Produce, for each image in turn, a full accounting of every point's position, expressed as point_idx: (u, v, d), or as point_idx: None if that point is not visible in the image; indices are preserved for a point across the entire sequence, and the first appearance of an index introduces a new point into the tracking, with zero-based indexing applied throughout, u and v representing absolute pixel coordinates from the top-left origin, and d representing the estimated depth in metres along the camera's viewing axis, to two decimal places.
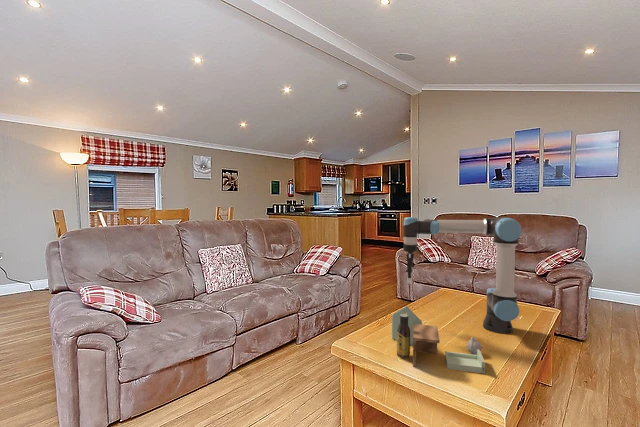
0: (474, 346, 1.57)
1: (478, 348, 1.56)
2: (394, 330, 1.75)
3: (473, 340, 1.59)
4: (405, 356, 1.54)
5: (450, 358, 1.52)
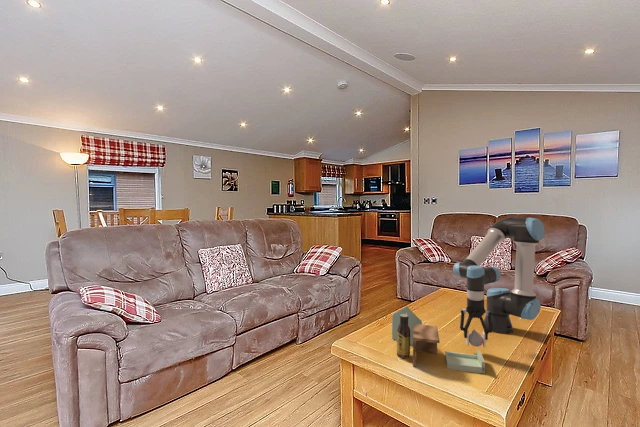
0: (476, 338, 1.57)
1: (479, 340, 1.57)
2: (394, 330, 1.75)
3: (474, 332, 1.59)
4: (405, 356, 1.54)
5: (450, 358, 1.52)
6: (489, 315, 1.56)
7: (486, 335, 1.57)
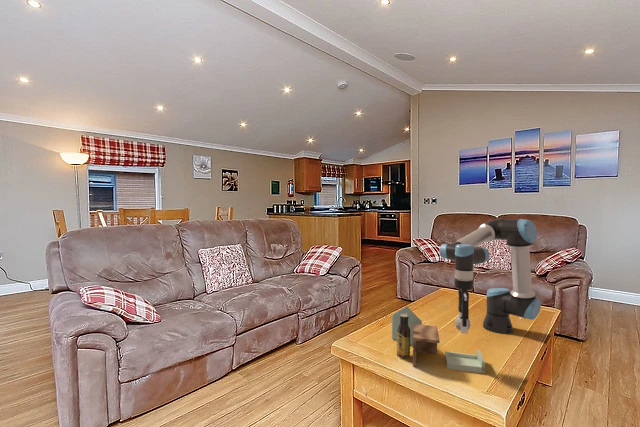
0: (469, 321, 1.47)
1: None
2: (394, 330, 1.75)
3: None
4: (405, 356, 1.54)
5: (450, 358, 1.52)
6: None
7: None
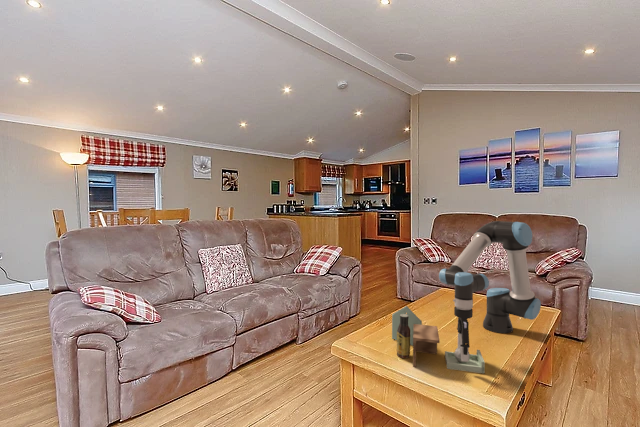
0: None
1: None
2: (394, 330, 1.75)
3: None
4: (405, 356, 1.54)
5: (450, 358, 1.52)
6: None
7: (462, 335, 1.56)
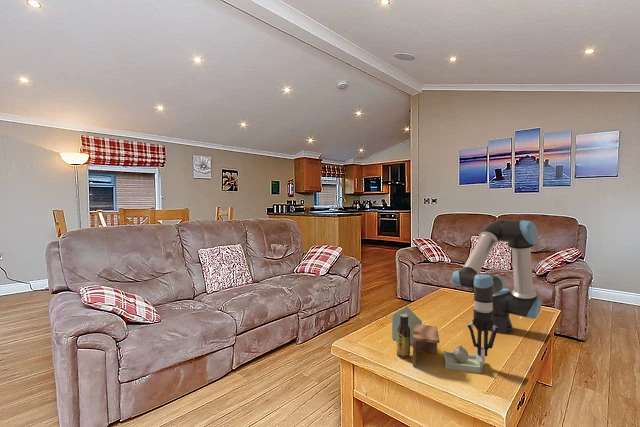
0: (467, 352, 1.48)
1: None
2: (394, 330, 1.75)
3: None
4: (405, 356, 1.54)
5: (448, 358, 1.53)
6: (496, 330, 1.43)
7: (486, 351, 1.45)
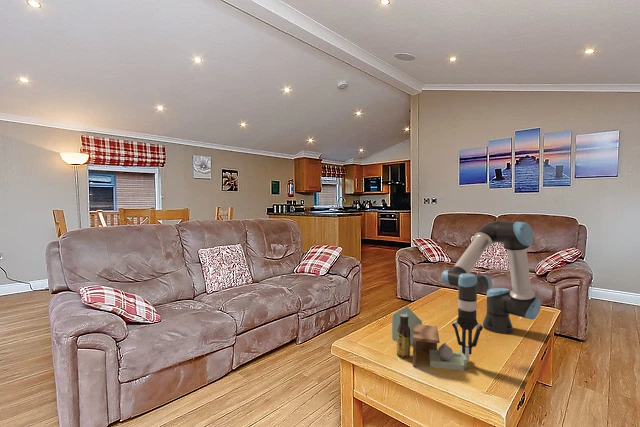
0: (452, 351, 1.50)
1: None
2: (394, 330, 1.75)
3: None
4: (405, 356, 1.54)
5: (434, 356, 1.54)
6: (480, 329, 1.45)
7: (470, 349, 1.47)
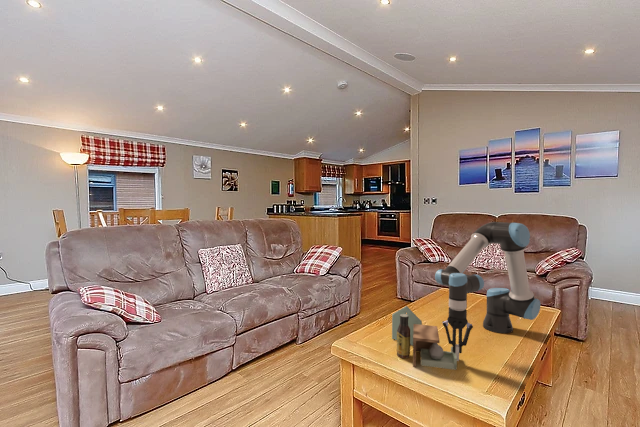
0: (442, 349, 1.51)
1: None
2: (394, 330, 1.75)
3: (438, 345, 1.51)
4: (405, 356, 1.54)
5: (425, 355, 1.56)
6: (470, 328, 1.46)
7: (460, 348, 1.48)
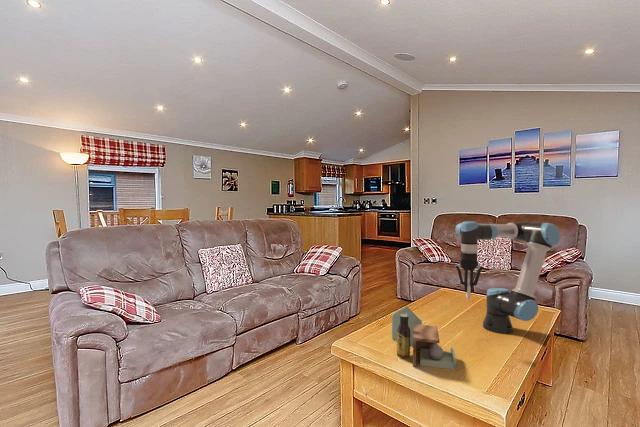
0: (442, 349, 1.51)
1: None
2: (394, 330, 1.75)
3: (438, 345, 1.51)
4: (405, 356, 1.54)
5: (424, 355, 1.56)
6: (480, 269, 1.64)
7: (471, 288, 1.66)
